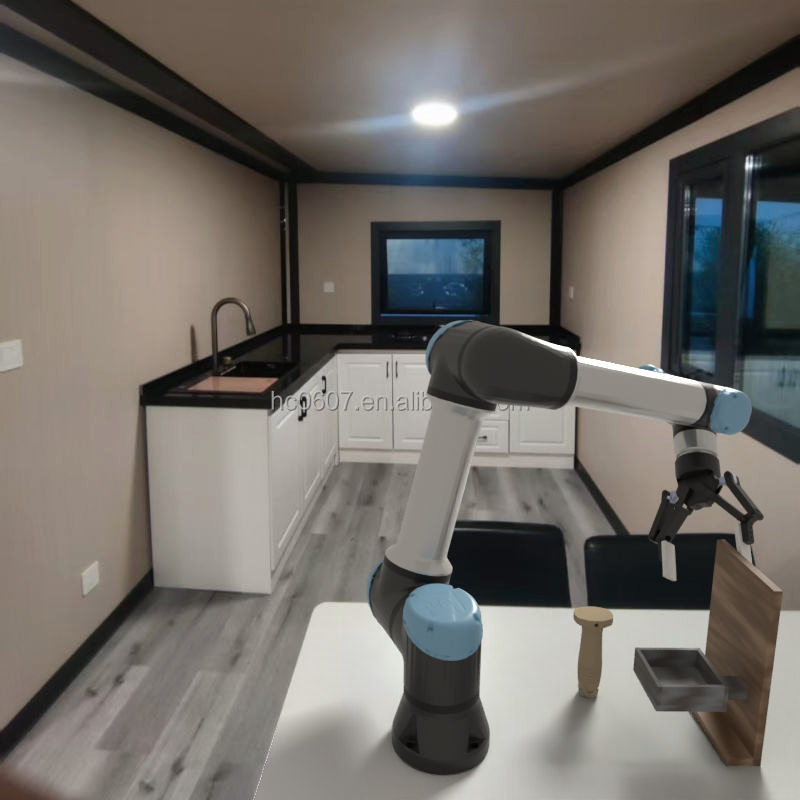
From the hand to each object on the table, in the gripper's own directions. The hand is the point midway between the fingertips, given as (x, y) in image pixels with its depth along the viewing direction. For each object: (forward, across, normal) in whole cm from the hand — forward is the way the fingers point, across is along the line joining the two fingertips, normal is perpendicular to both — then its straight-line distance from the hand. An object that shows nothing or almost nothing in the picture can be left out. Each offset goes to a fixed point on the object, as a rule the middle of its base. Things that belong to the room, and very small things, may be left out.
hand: (705, 572), depth 115 cm
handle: (+19, +22, +4) cm, 29 cm away
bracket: (+23, +9, -4) cm, 25 cm away
